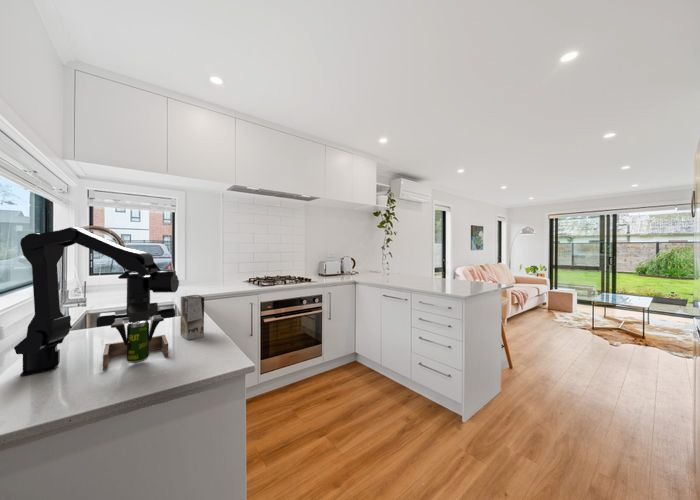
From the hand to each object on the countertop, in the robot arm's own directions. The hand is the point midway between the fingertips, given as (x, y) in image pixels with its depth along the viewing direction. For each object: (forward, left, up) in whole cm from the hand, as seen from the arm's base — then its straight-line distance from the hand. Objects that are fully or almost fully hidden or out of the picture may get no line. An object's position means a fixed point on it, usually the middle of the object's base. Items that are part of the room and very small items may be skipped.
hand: (138, 343), depth 83 cm
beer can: (0, 0, -6) cm, 6 cm away
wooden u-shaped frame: (0, +6, -6) cm, 9 cm away
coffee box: (+18, +20, -7) cm, 28 cm away
